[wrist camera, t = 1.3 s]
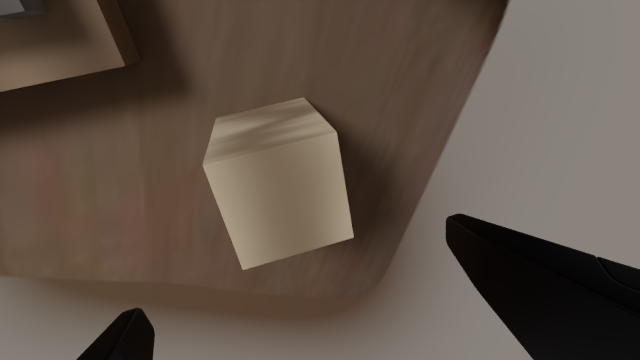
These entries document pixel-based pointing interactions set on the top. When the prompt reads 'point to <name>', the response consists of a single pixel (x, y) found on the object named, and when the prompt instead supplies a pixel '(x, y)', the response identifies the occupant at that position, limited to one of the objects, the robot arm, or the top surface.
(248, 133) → the birch block
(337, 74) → the top surface
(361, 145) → the top surface
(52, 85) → the top surface
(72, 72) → the brown wooden flat tray
